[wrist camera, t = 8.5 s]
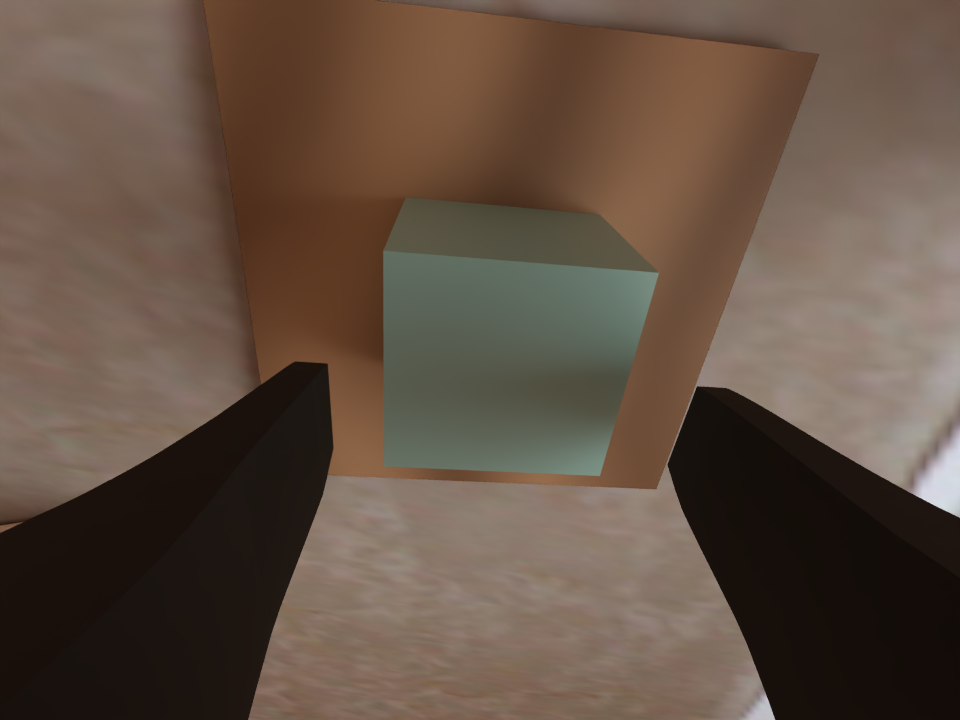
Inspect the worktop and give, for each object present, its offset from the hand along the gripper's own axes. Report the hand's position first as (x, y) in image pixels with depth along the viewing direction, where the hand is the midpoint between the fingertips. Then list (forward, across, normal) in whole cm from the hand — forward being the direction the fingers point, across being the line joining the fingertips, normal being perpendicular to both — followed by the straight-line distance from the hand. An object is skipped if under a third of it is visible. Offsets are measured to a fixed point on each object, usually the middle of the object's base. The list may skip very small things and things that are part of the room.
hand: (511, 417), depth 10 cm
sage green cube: (+6, 0, 0) cm, 6 cm away
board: (+6, 0, 0) cm, 7 cm away
